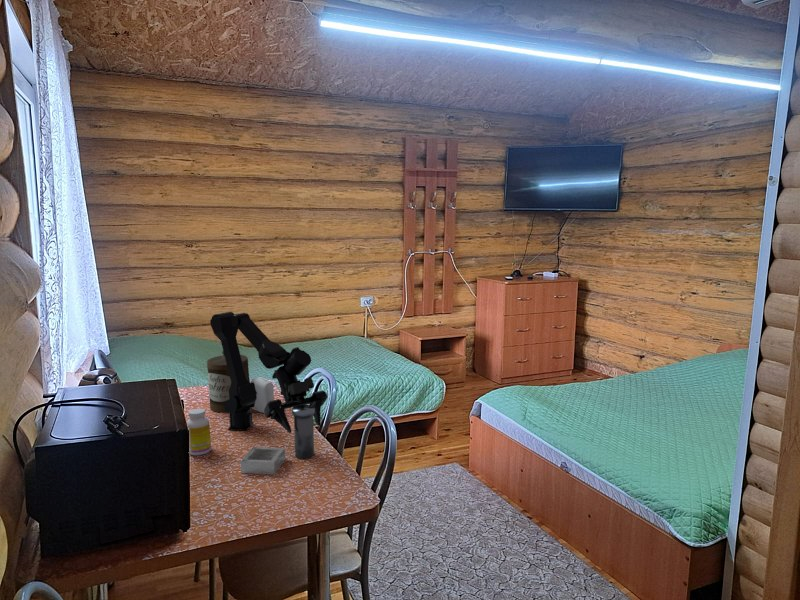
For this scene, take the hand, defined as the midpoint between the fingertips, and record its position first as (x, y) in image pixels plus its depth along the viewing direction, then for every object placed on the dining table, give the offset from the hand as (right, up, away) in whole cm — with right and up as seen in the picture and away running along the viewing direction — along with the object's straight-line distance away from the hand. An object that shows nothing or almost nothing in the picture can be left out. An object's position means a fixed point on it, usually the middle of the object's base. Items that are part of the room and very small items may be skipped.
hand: (305, 429), depth 166 cm
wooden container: (-36, -2, +46) cm, 58 cm away
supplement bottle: (-33, -8, +6) cm, 34 cm away
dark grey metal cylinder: (0, -8, +2) cm, 9 cm away
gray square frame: (-11, -10, -5) cm, 15 cm away
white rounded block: (-22, -3, +40) cm, 46 cm away
